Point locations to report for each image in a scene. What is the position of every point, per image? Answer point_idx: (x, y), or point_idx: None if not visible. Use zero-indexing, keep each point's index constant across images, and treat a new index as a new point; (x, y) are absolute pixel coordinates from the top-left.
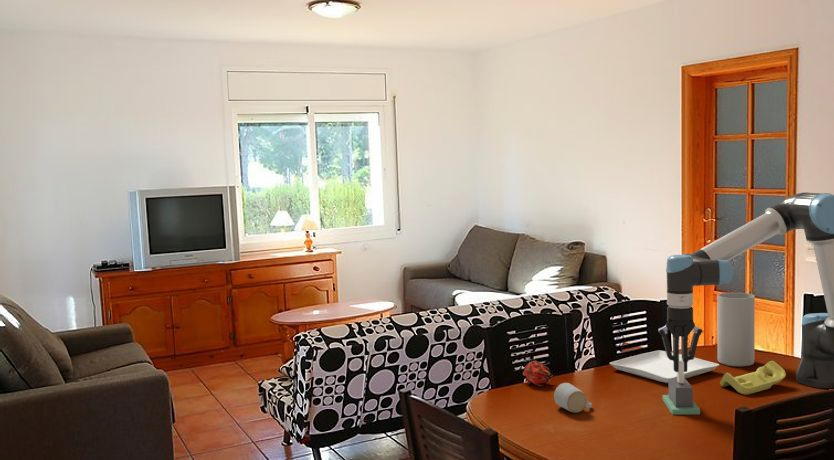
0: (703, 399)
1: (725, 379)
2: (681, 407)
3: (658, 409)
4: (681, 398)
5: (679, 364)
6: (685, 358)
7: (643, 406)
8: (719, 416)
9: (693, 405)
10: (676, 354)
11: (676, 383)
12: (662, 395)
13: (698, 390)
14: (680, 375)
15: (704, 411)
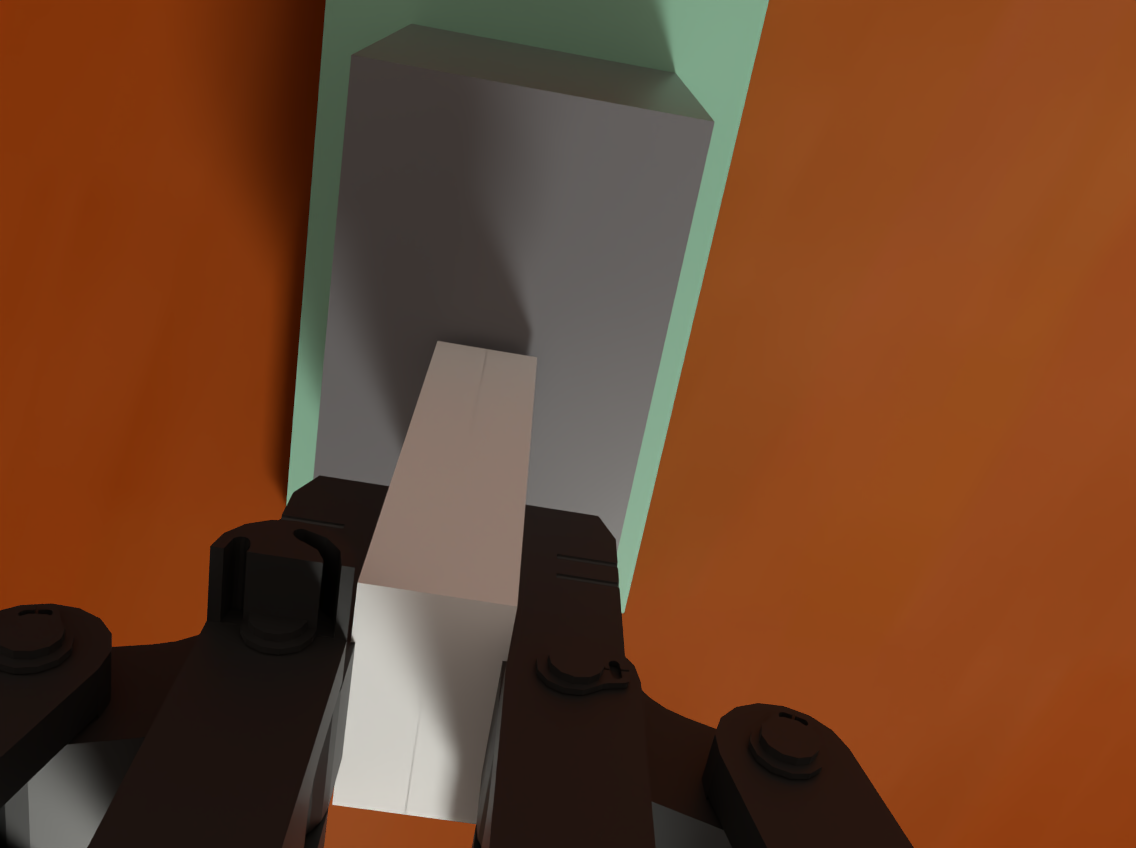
0: (105, 507)
1: None
2: (589, 52)
3: (846, 235)
4: (590, 72)
5: (503, 566)
6: (269, 667)
7: (978, 387)
8: None
9: None
10: (586, 828)
11: (565, 408)
12: (623, 611)
13: None
14: (497, 421)
15: (239, 28)
